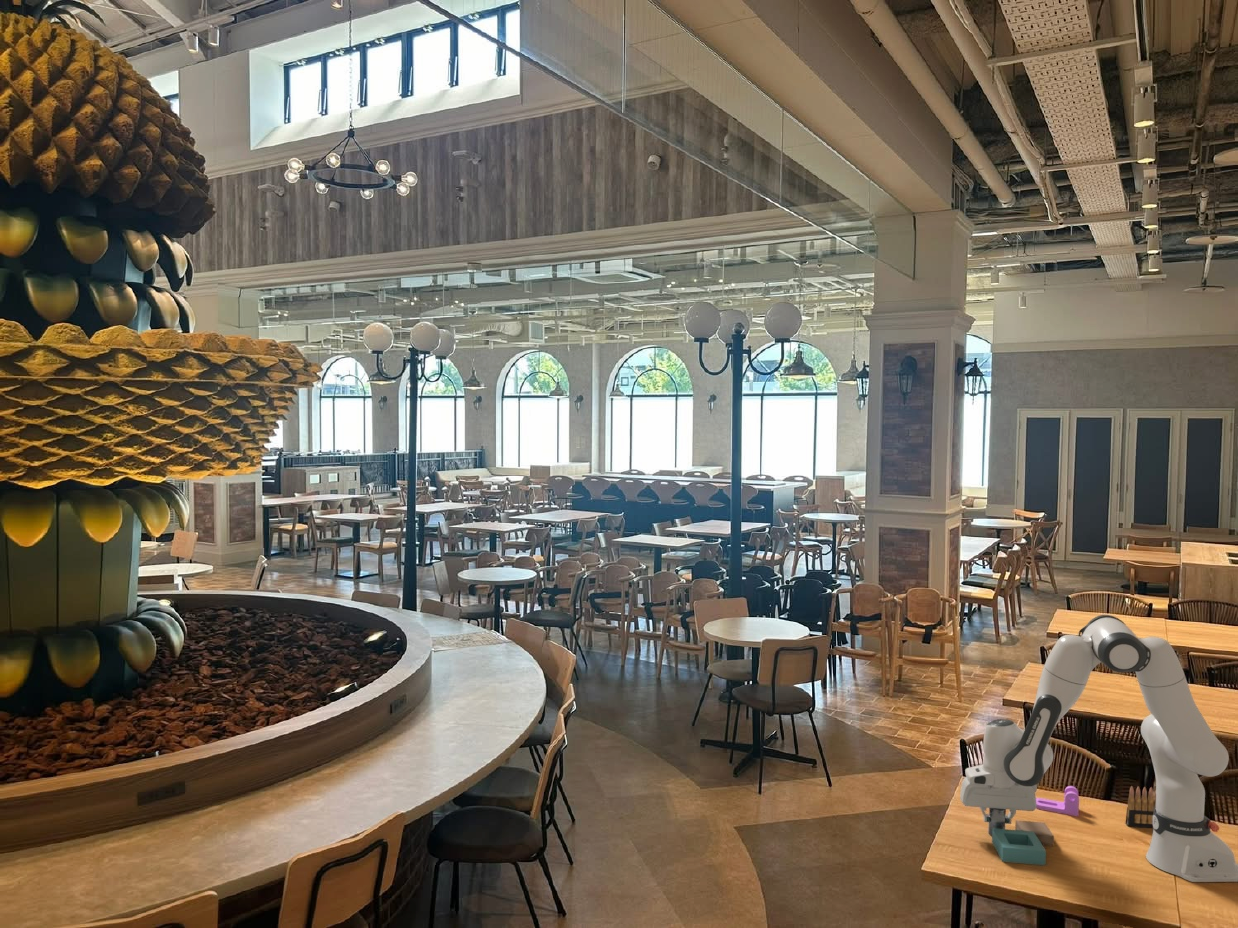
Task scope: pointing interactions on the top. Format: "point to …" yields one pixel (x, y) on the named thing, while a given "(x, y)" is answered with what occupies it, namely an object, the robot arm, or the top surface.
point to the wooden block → (1037, 831)
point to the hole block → (1018, 846)
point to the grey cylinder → (996, 819)
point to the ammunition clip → (1140, 809)
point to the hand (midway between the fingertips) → (997, 821)
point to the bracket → (1062, 803)
